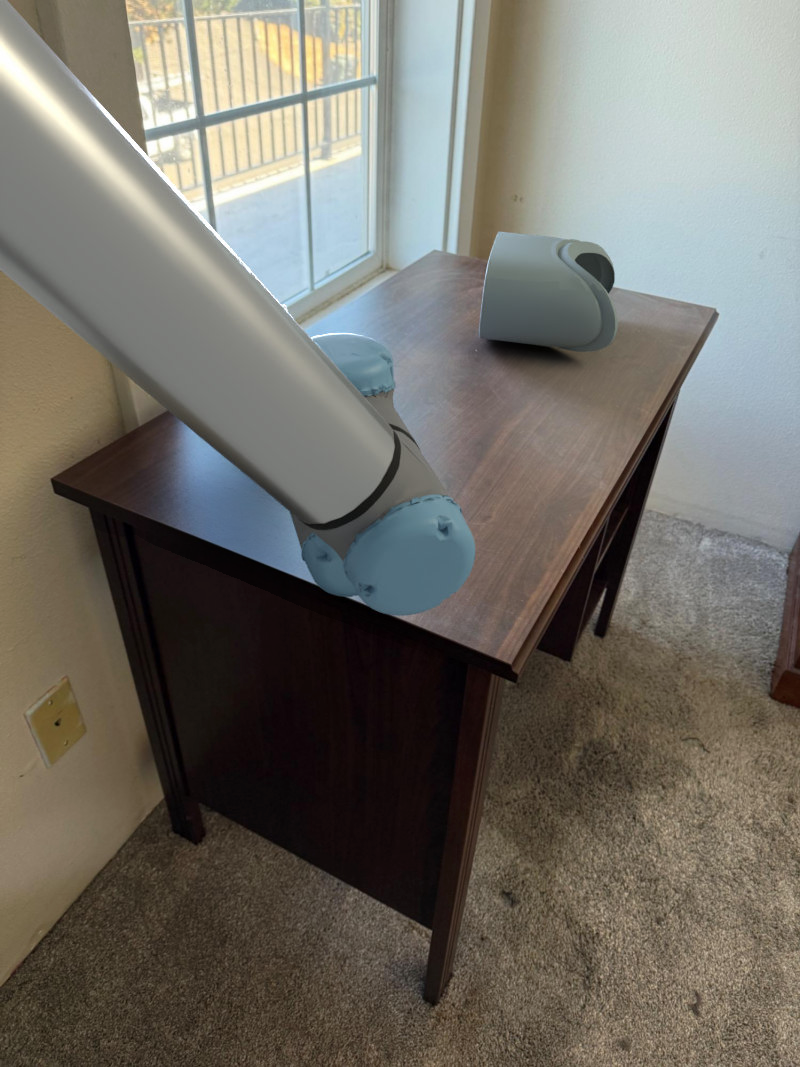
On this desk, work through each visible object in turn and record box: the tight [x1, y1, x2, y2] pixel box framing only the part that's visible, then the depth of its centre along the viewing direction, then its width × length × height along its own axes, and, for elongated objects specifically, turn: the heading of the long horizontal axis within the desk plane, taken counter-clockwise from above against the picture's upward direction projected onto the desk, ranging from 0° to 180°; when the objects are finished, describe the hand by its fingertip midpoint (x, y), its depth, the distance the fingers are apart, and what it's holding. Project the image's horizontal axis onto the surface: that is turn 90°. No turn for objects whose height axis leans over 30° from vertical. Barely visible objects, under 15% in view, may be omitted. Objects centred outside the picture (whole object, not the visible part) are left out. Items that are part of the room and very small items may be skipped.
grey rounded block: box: [478, 231, 619, 353], centre depth 111 cm, size 22×19×13 cm
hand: (274, 363), depth 84 cm, fingers open, 13 cm apart
